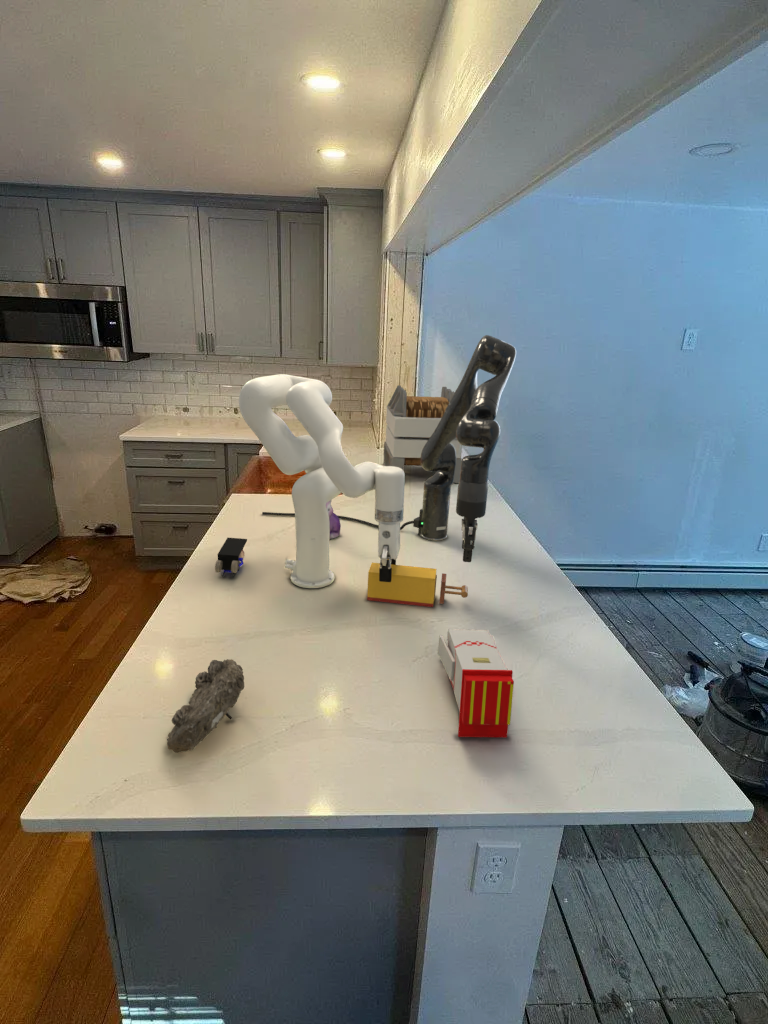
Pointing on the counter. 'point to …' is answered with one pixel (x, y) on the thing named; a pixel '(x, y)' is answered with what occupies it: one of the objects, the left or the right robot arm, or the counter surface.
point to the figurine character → (230, 556)
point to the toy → (478, 682)
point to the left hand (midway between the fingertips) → (387, 573)
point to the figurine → (333, 521)
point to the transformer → (414, 428)
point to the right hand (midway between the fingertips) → (466, 554)
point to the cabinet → (403, 585)
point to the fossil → (206, 705)
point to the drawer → (443, 585)
